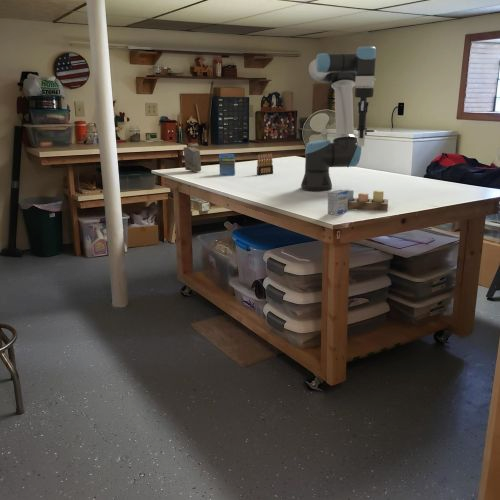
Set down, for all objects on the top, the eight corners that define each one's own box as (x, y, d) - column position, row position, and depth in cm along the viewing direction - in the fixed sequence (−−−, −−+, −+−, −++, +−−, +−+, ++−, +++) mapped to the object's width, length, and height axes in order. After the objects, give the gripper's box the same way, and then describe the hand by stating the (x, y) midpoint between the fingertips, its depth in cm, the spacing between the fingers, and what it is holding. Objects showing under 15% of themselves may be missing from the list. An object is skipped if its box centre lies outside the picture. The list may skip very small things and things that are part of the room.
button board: (337, 208, 212) (337, 201, 211) (339, 204, 220) (339, 197, 219) (387, 211, 207) (387, 203, 206) (387, 206, 215) (388, 199, 214)
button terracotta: (357, 207, 212) (358, 194, 211) (358, 205, 216) (358, 192, 214) (367, 207, 211) (368, 195, 210) (367, 205, 215) (368, 193, 213)
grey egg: (342, 203, 213) (343, 191, 212) (343, 201, 217) (344, 189, 215) (352, 204, 212) (353, 191, 211) (353, 202, 216) (354, 189, 214)
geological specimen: (201, 172, 310) (200, 147, 306) (192, 173, 307) (191, 148, 302) (193, 170, 319) (192, 146, 314) (184, 171, 315) (183, 146, 311)
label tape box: (235, 174, 303) (235, 153, 299) (234, 175, 299) (234, 154, 295) (220, 174, 303) (220, 153, 300) (219, 175, 300) (218, 154, 296)
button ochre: (372, 205, 210) (373, 192, 209) (373, 203, 214) (373, 190, 212) (382, 205, 209) (383, 192, 208) (382, 203, 213) (383, 190, 211)
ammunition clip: (271, 173, 305) (271, 152, 301) (273, 173, 303) (273, 153, 300) (256, 175, 299) (256, 154, 295) (258, 175, 297) (258, 154, 294)
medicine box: (336, 215, 201) (337, 193, 199) (327, 213, 204) (327, 192, 201) (347, 211, 207) (348, 190, 204) (338, 210, 210) (338, 189, 207)
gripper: (372, 87, 203) (369, 148, 211) (374, 86, 215) (370, 144, 223) (353, 87, 205) (350, 147, 213) (356, 86, 217) (353, 143, 225)
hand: (360, 145), depth 218 cm, fingers closed
